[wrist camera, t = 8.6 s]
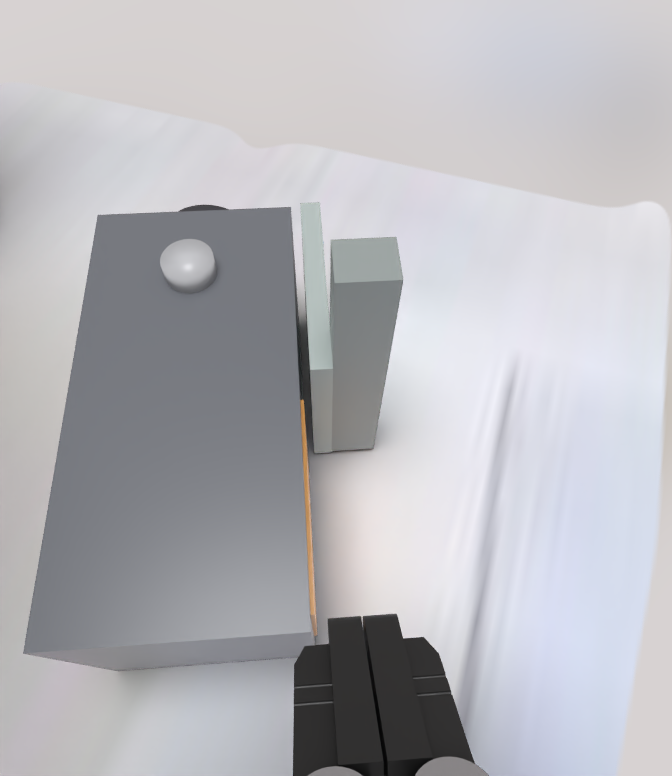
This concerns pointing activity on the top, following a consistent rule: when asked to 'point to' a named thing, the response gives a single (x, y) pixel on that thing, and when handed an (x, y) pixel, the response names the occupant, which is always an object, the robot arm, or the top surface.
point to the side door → (348, 332)
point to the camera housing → (181, 452)
